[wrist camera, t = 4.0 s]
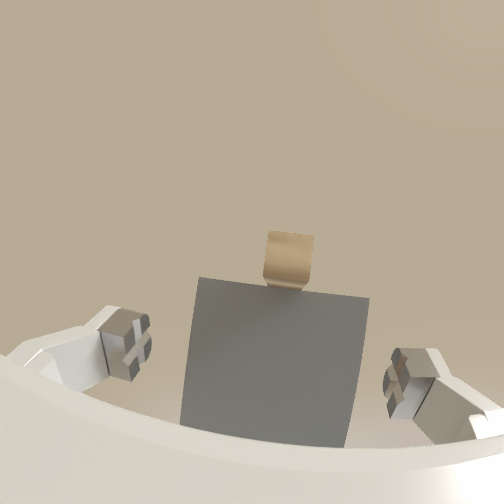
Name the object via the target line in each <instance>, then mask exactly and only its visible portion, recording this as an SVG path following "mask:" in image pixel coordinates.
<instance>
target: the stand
mask: <svg viewBox="0 0 504 504" xmlns="http://www.w3.org/2000/svg"><path fill="white" fill-rule="evenodd" d="M368 307H369V298H363V297H353V296H343V295H334V294H326V293H317V292H308V291H301V290H292V289H284V288H276V287H269V286H261V285H253V284H246V283H238V282H231V281H224V280H216V279H209V278H202V277H199V280H198V286H197V293H196V299H195V306H194V313H193V320H192V327H191V334H190V342H189V349H188V358H187V365H186V373H185V381H184V389H183V398H182V408H181V416H180V425H182V426H186V427H191V428H195V429H199V430H204V431H209V432H213V433H218V434H223V435H229V436H234V437H240V438H246V439H252V440H259V441H266V442H274V443H282V444H291V445H302V446H315V447H332V448H344V444H345V440H346V435H347V431H348V426H349V422H350V418H351V413H352V408H353V403H354V398H355V393H356V388H357V383H358V377H359V371H360V365H361V359H362V353H363V346H364V339H365V331H366V324H367V323H366V322H367V315H368Z"/></svg>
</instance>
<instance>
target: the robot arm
mask: <svg viewBox="0 0 504 504" xmlns="http://www.w3.org/2000/svg"><path fill="white" fill-rule="evenodd" d="M149 326H150V322H149V317H148V316H147V314H144V313H140V312H136V311H132V310H128V309H123V308H120V307H115V306H110V305H109V306H106V307H105V308H103V310H101V311H100V312H99V313H98V314H97V315H96V316H95V317H94V318H92V319H91V320H90V321H89V322H88V323H87V324H86V325H85V326H84V327H83V326H77V327H74V328H70V329H66V330H63V331H59V332H56V333H52V334H49V335H45V336H42V337H38V338H34V339H31V340H27V341H24V342H23V343H22V344H21V345H19V346H18V347H17V348H16V349H15V350H13V351H12V352H11V353H10V354H9V355H8V356H7V357H5V356H3V355H1V354H0V504H504V409H502V408H501V407H499V406H498V405H497V404H495V403H493V402H492V401H491V400H489V399H488V398H486V397H484V396H483V395H482V394H480V393H479V392H477V391H476V390H475V389H473V388H471V387H470V386H469V385H467V384H466V383H464V382H462V381H461V380H460V379H458V378H457V377H452V375H451V373H450V371H449V369H448V367H447V365H446V363H445V362H444V360H443V358H442V356H441V354H440V352H439V351H438V350H437V349H436V348H423V349H413V348H396V349H395V350H394V352H393V354H392V357H391V360H392V363H393V364H392V365H391V366H390V367H388V368H387V370H386V372H385V375H384V380H383V392H384V396H385V397H387V398H388V399H389V401H388V403H387V408H388V413H389V417H390V419H413V421H414V422H415V423H416V424H417V426H418V427H419V428H420V429H421V430H422V431H423V432H424V433H425V434H426V435H427V437H428V438H429V439H430V440H431V441H432V442H433V443H434V444H435V445H429V446H416V447H399V448H332V447H315V446H302V445H291V444H282V443H274V442H266V441H259V440H252V439H246V438H240V437H234V436H229V435H223V434H218V433H213V432H209V431H204V430H199V429H195V428H191V427H186V426H182V425H178V424H174V423H170V422H167V421H163V420H159V419H155V418H152V417H149V416H146V415H142V414H139V413H136V412H133V411H129V410H126V409H123V408H120V407H117V406H114V405H112V404H109V403H106V402H103V401H101V400H98V399H95V398H93V397H90V396H88V395H85V394H83V393H80V392H82V391H84V390H86V389H88V388H90V387H91V386H93V385H95V384H97V383H99V382H101V381H103V380H104V379H106V378H108V377H109V376H112V377H115V378H119V379H122V380H126V381H130V382H132V380H133V379H134V377H135V376H136V375H137V373H138V372H139V370H140V368H139V364H141V363H144V362H146V360H147V359H148V357H149V354H150V351H151V344H152V342H151V336H150V334H149V333H148V332H147V328H148V327H149Z"/></svg>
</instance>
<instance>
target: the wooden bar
mask: <svg viewBox="0 0 504 504" xmlns="http://www.w3.org/2000/svg"><path fill="white" fill-rule="evenodd" d="M313 240H314V236H312V235H303V234H296V233H288V232H279V231H271V230H269V233H268V240H267V249H266V256H265V263H264V271H263V277H264V279H265V281H266V283H267V285H268V286H269V287H276V288H284V289H292V290H302V289H303V287H304V286H305V285H306V284H307V283H308V282H309V278H310V269H311V259H312V251H313Z"/></svg>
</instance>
